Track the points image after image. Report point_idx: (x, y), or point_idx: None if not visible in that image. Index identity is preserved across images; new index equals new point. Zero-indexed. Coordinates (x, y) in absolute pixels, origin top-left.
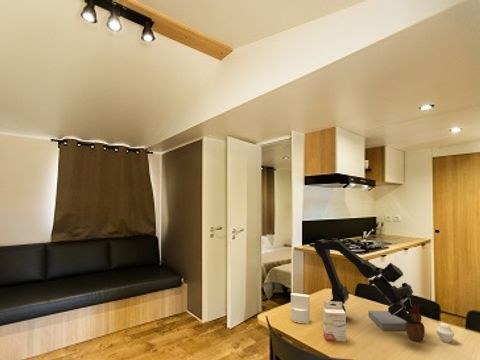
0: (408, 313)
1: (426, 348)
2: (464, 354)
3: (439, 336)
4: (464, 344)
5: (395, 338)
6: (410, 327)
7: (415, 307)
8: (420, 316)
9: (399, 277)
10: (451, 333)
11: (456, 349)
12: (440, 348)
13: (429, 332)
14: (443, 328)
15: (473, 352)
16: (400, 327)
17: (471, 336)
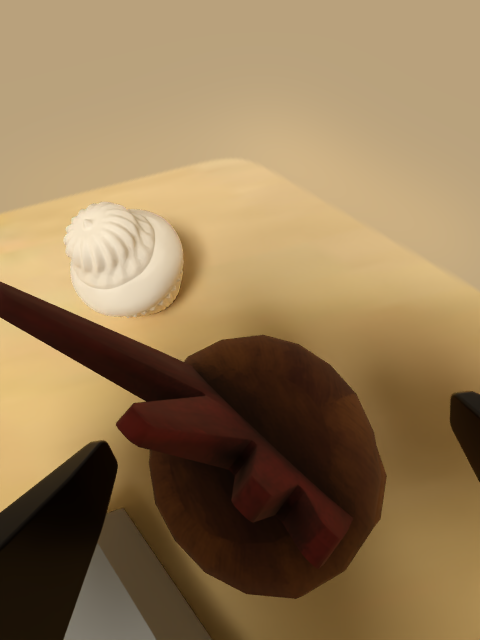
0: (320, 583)
1: (385, 339)
2: (271, 181)
3: (166, 304)
4: None
5: (439, 619)
6: (385, 479)
7: (192, 412)
8: (264, 337)
9: None
10: (150, 212)
11: (239, 220)
12: (301, 278)
13: (92, 395)
14: (139, 239)
15: (211, 166)
16: (189, 633)
17: (20, 221)
